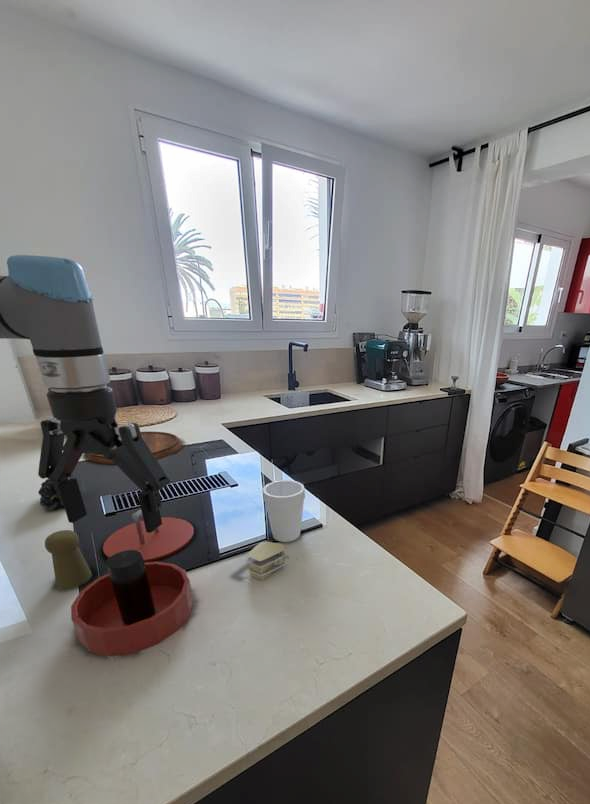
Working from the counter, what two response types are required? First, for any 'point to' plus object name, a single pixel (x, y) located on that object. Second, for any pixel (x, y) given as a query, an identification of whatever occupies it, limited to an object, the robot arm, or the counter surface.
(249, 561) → the beige layered block
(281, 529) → the foam cup
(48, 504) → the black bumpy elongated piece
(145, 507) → the robot arm
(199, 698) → the counter surface
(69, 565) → the cork
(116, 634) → the pot
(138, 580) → the black item
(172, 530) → the lid
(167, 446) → the cutting board
